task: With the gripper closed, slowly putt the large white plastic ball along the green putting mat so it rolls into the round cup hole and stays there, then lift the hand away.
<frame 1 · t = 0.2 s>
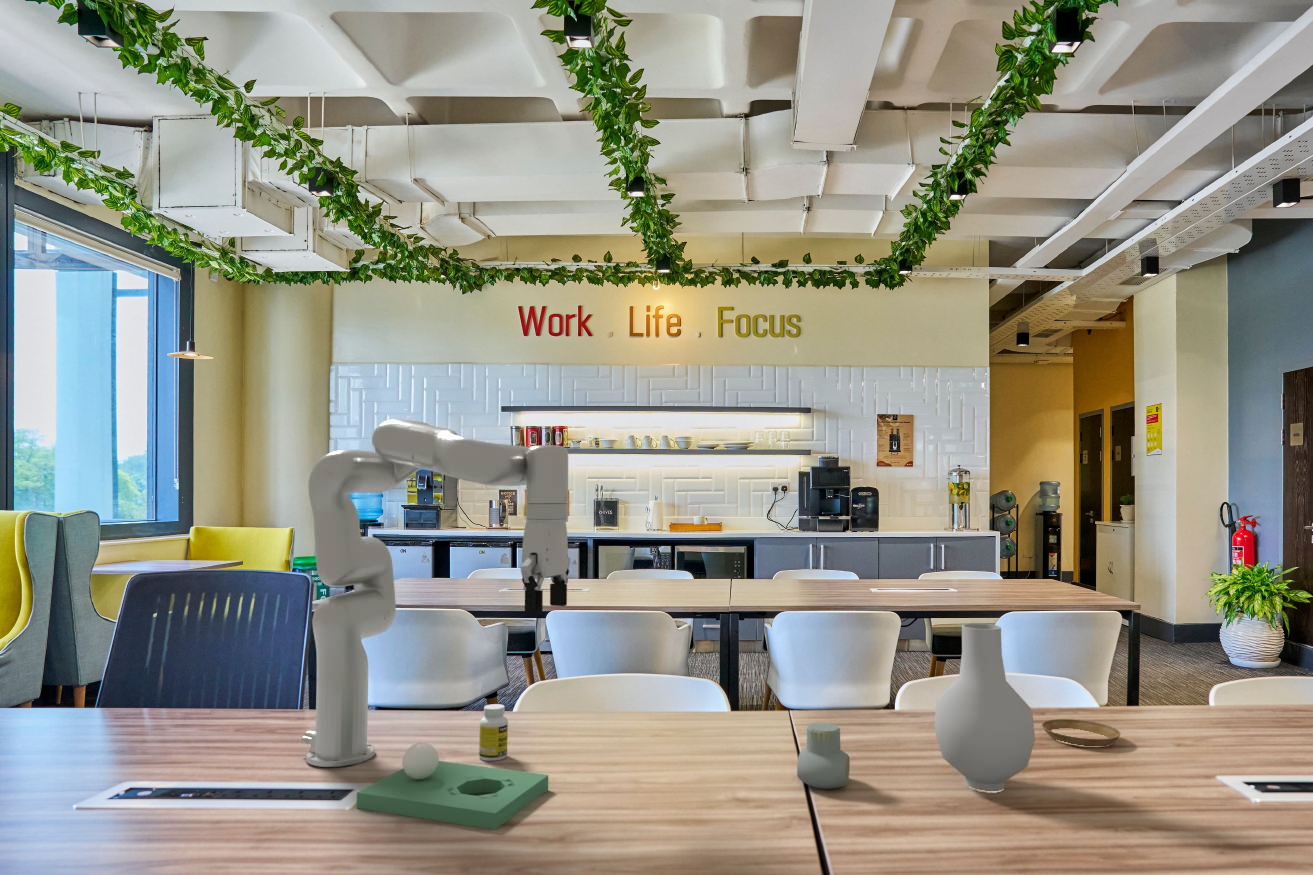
hand: (546, 609, 149), 31 cm above the table, tool pointing down, fingers open, 9 cm apart
ball: (420, 760, 144), point 5 cm above the table, touching putting mat
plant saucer: (1080, 741, 174), on the table
supplement bottle: (493, 758, 163), on the table
air freshener: (823, 785, 148), on the table
vase: (984, 787, 147), on the table
putting mat: (455, 798, 141), on the table
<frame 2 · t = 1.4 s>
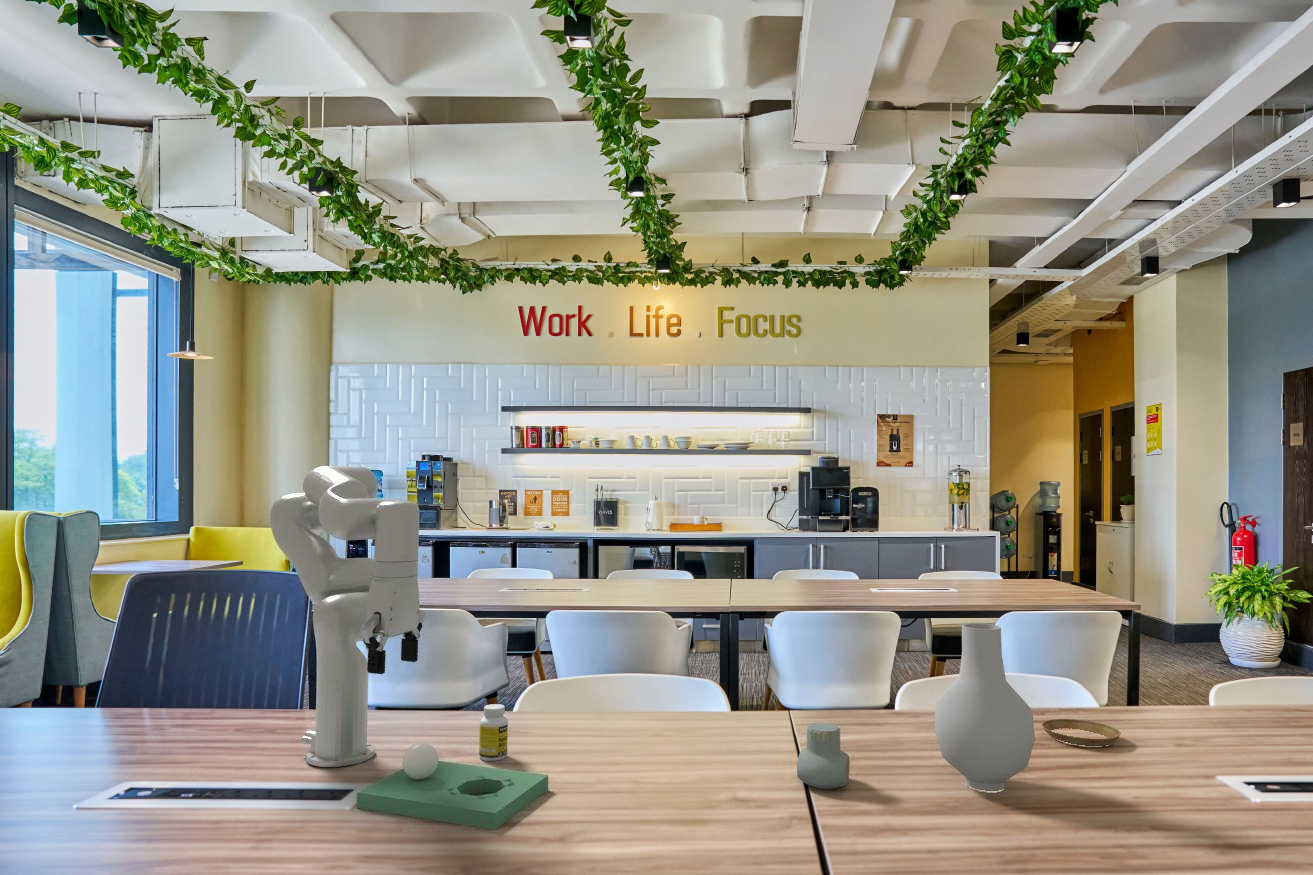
hand: (393, 666, 148), 21 cm above the table, tool pointing down, fingers open, 9 cm apart
nothing on the table moved.
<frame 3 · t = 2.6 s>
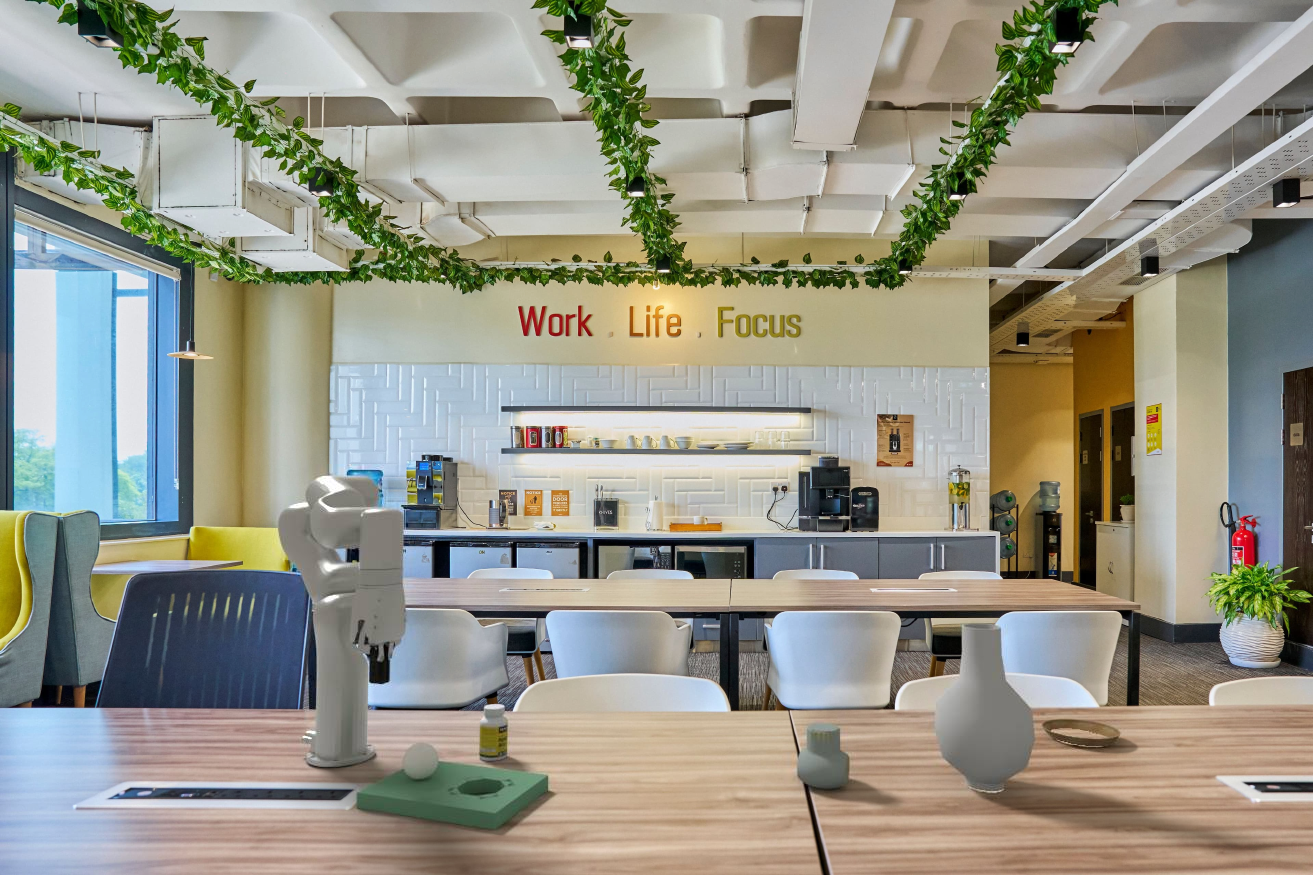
hand: (379, 682, 147), 18 cm above the table, tool pointing down, fingers closed
nothing on the table moved.
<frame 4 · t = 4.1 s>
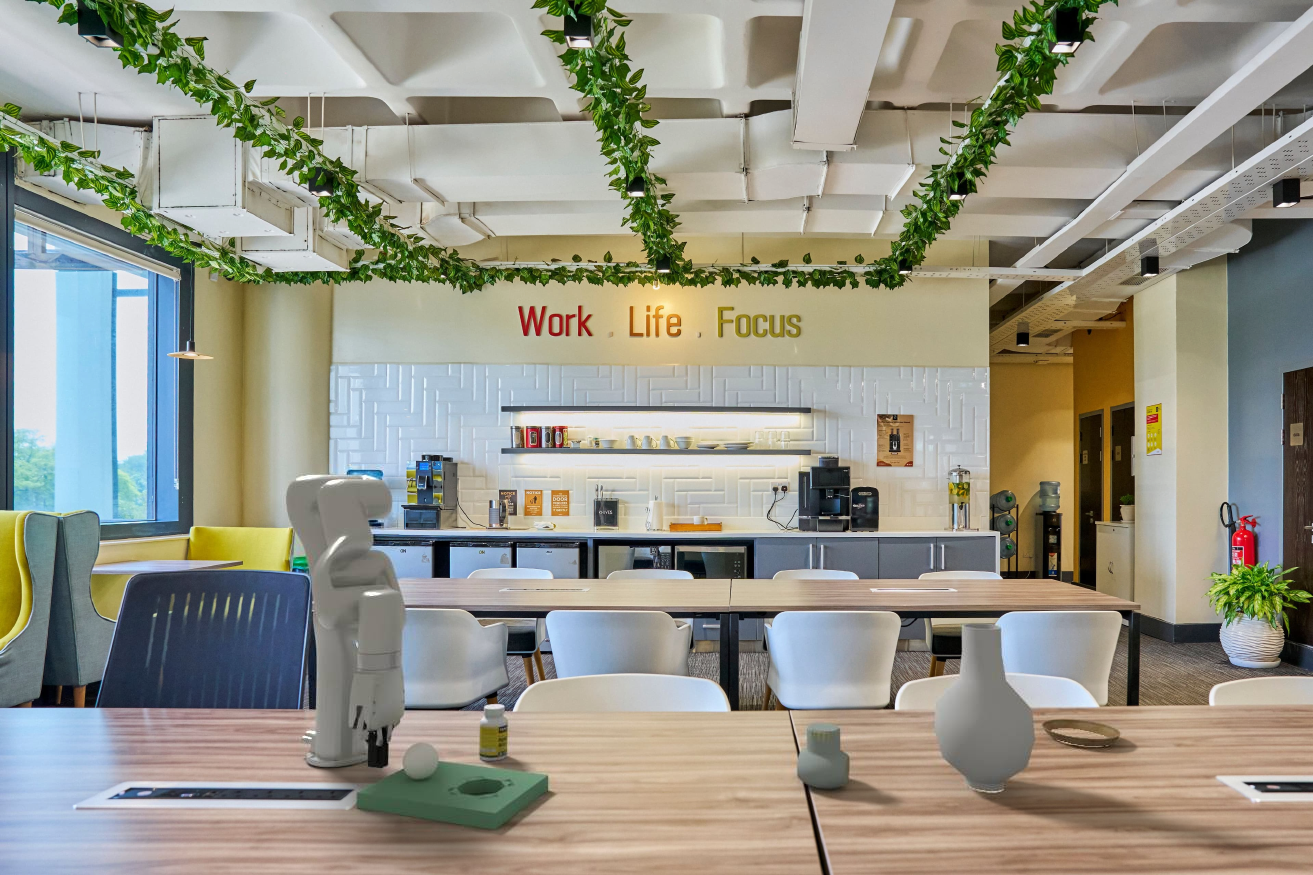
hand: (377, 765, 147), 4 cm above the table, tool pointing down, fingers closed
nothing on the table moved.
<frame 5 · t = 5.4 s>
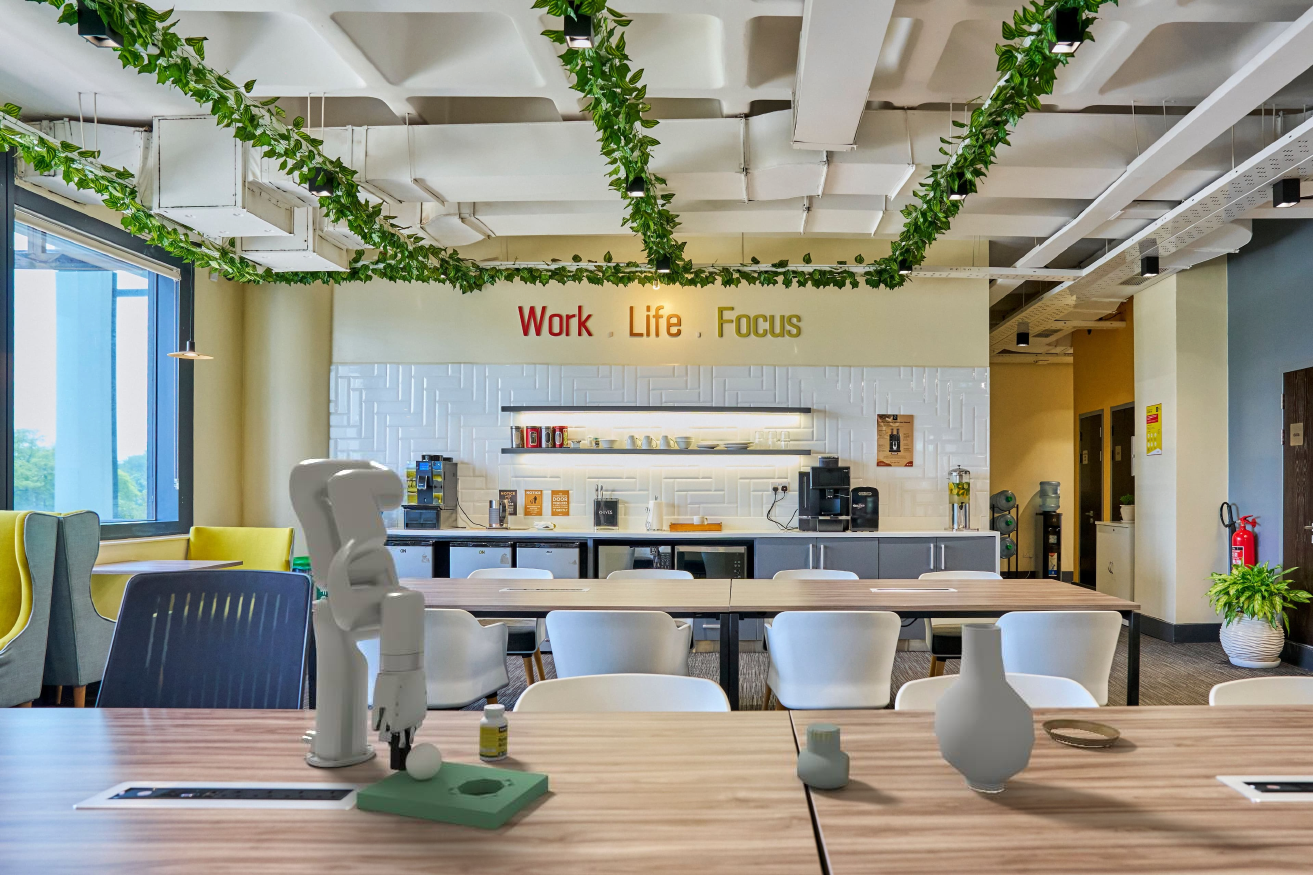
hand: (400, 768, 145), 4 cm above the table, tool pointing down, fingers closed
ball: (423, 761, 144), point 5 cm above the table, tilted 10°, touching putting mat
everything else where it was.
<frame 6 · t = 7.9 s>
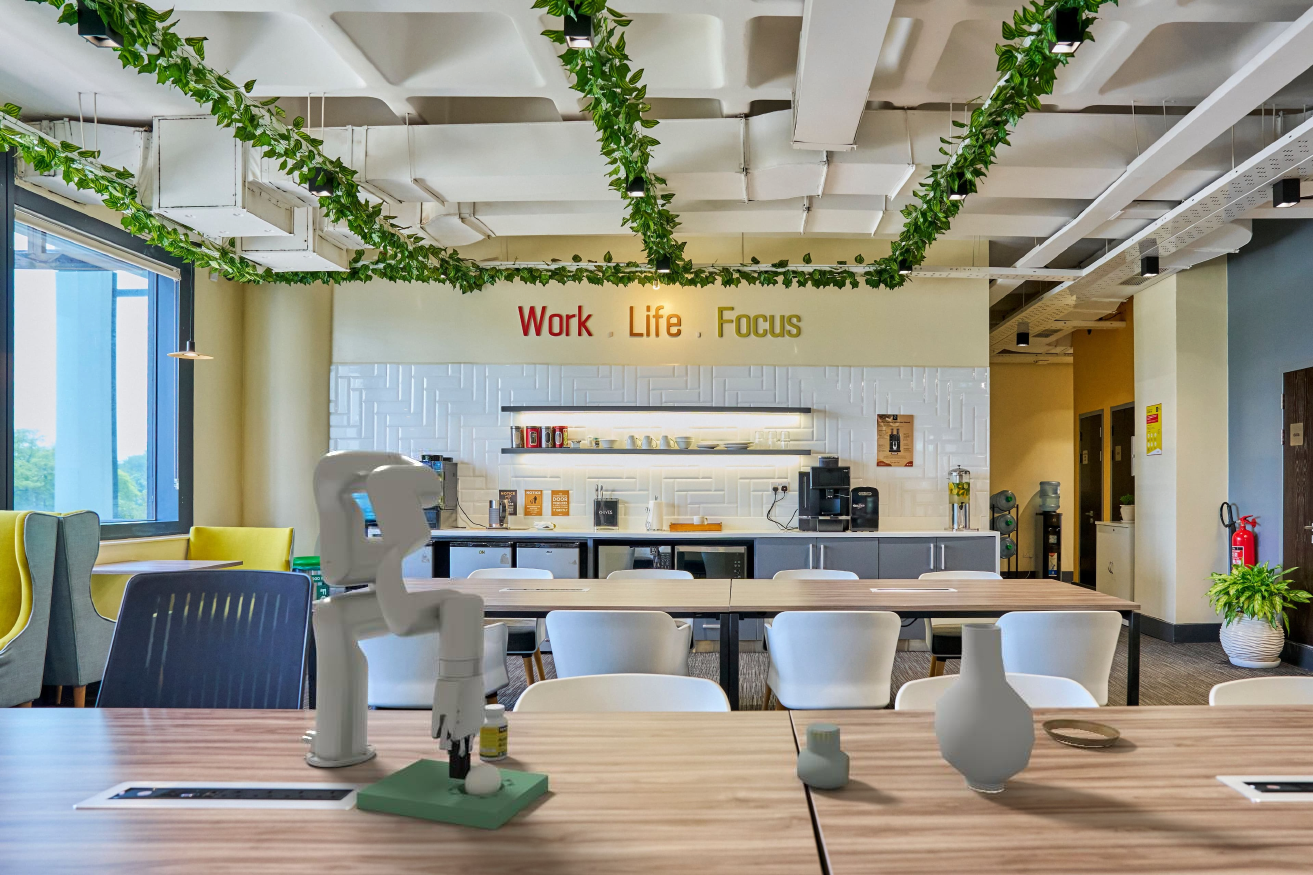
hand: (459, 776, 141), 4 cm above the table, tool pointing down, fingers closed
ball: (483, 782, 140), point 3 cm above the table, tilted 106°, touching gripper, putting mat
everything else where it was.
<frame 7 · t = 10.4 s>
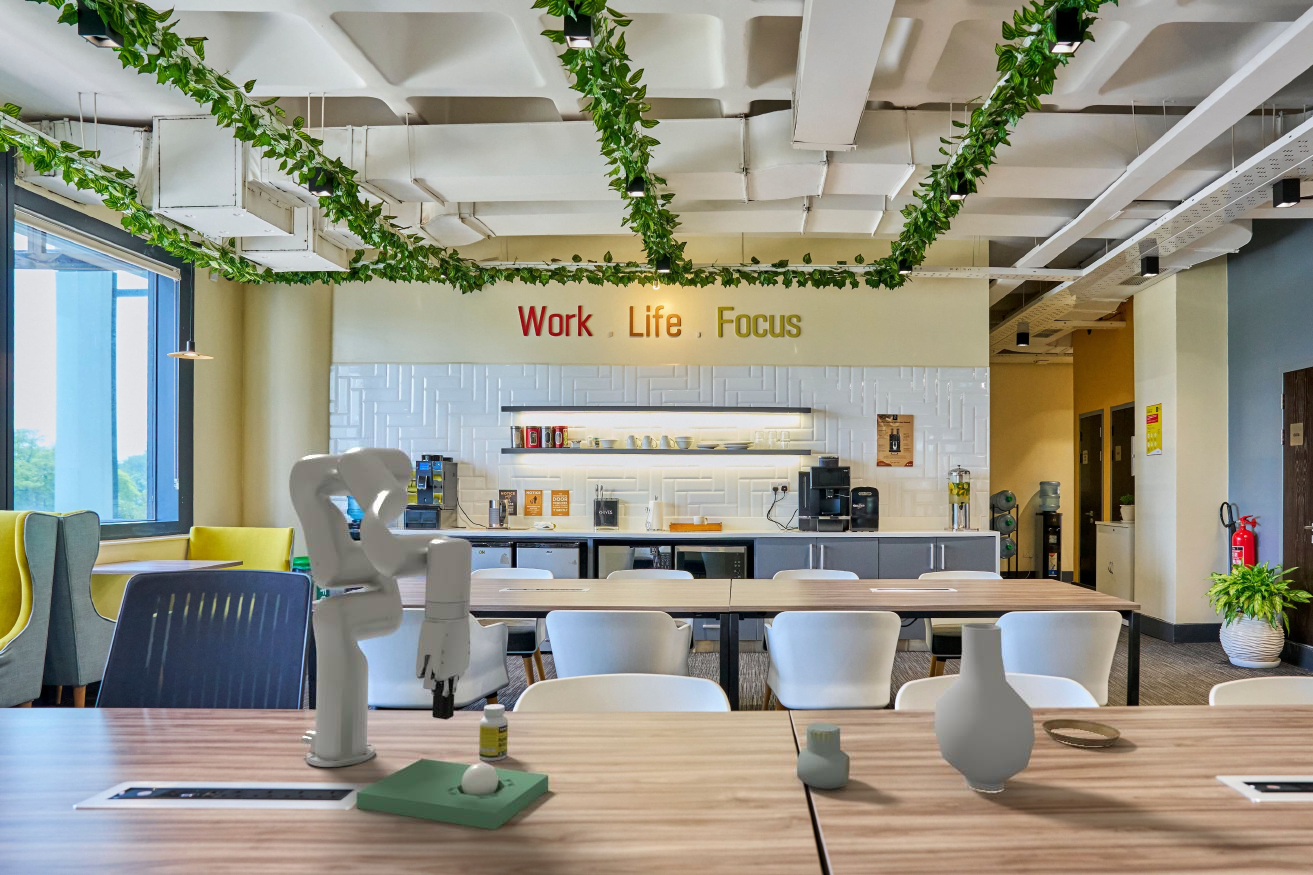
hand: (442, 716, 143), 13 cm above the table, tool pointing down, fingers closed
ball: (479, 781, 140), point 3 cm above the table, tilted 118°, touching putting mat
everything else where it was.
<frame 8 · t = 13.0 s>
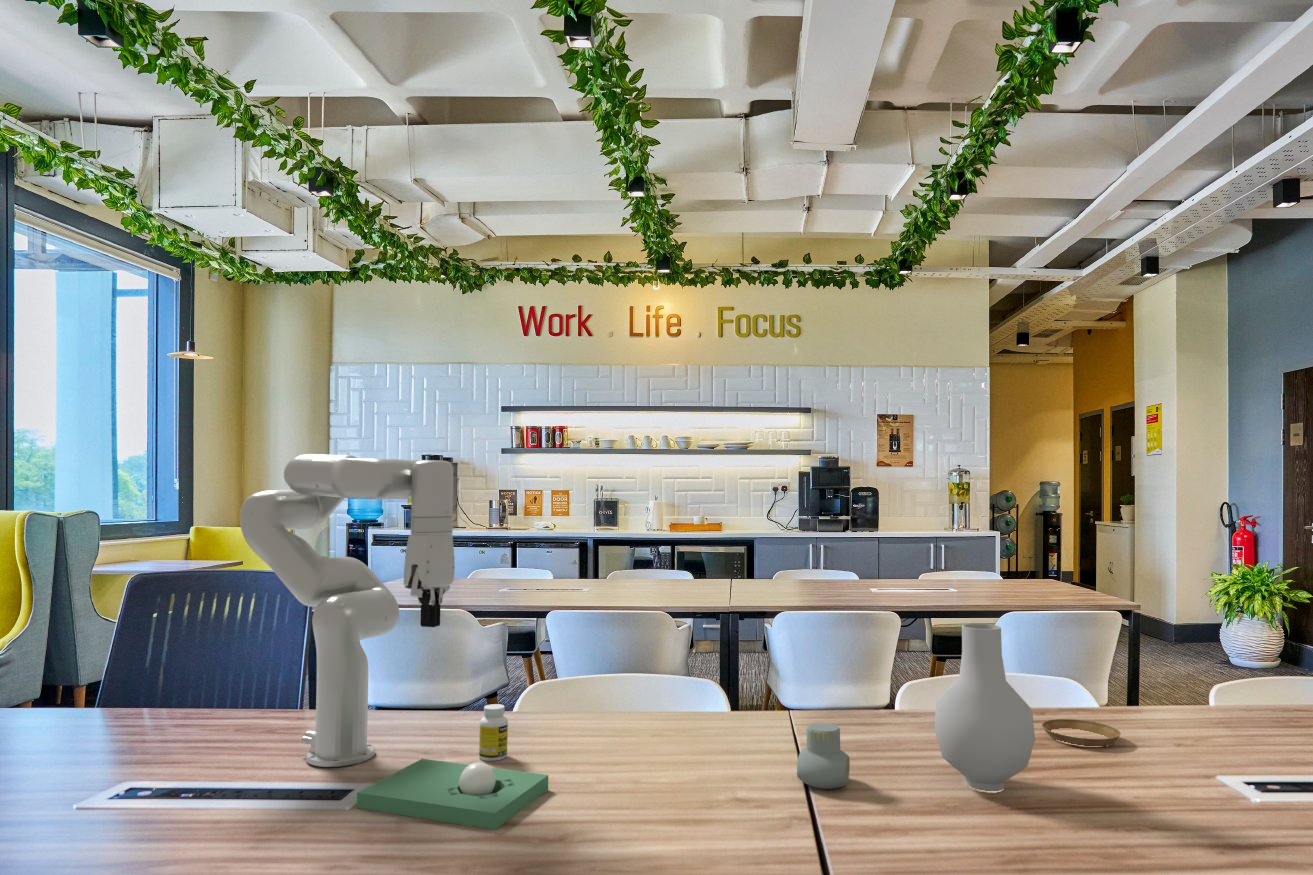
hand: (430, 625, 154), 27 cm above the table, tool pointing down, fingers closed
ball: (477, 781, 140), point 3 cm above the table, tilted 127°, touching putting mat
everything else where it was.
at the end: ball 0.8 cm from the target spot on the putting mat, point 3.3 cm above the putting mat's base; the gripper is holding nothing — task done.
